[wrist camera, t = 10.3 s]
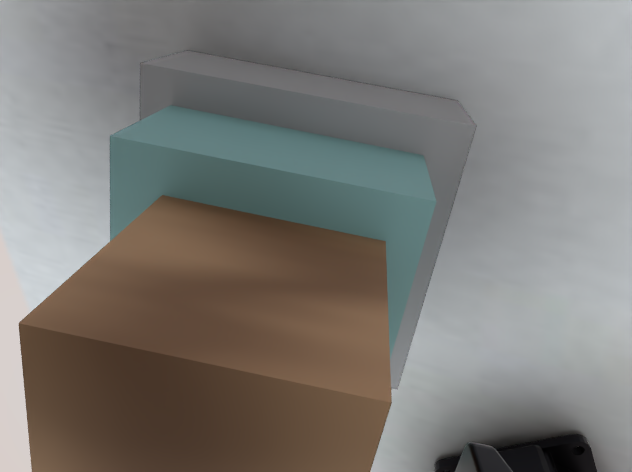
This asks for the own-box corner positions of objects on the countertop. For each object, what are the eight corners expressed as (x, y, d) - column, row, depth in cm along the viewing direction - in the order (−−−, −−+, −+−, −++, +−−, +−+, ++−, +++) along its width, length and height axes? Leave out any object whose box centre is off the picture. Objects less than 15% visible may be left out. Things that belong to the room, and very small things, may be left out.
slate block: (456, 98, 17) (476, 125, 13) (394, 321, 21) (397, 389, 17) (190, 49, 17) (140, 63, 14) (179, 278, 21) (137, 335, 18)
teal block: (423, 155, 14) (436, 201, 11) (368, 359, 17) (365, 442, 14) (170, 105, 14) (109, 135, 11) (161, 315, 17) (111, 387, 14)
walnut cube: (385, 241, 11) (391, 402, 7) (341, 411, 13) (322, 623, 9) (162, 194, 11) (18, 323, 7) (153, 371, 13) (39, 558, 9)
